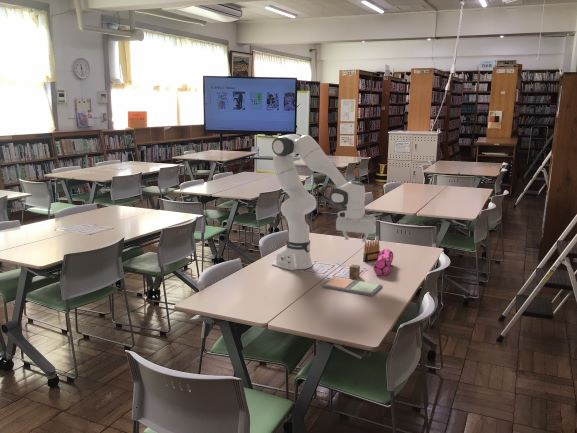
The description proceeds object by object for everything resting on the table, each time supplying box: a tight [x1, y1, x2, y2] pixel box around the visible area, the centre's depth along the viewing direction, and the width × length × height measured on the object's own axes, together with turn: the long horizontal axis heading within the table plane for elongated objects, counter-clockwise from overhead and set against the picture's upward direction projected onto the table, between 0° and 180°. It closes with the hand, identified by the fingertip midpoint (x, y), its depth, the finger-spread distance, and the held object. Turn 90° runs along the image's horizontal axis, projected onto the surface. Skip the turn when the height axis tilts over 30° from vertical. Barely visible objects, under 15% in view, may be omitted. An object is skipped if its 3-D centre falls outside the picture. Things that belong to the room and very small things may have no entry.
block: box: [348, 264, 361, 280], centre depth 247 cm, size 4×4×6 cm
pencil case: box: [373, 248, 394, 276], centre depth 258 cm, size 21×10×10 cm, turn 165°
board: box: [322, 276, 383, 297], centre depth 234 cm, size 25×14×1 cm, turn 61°
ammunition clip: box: [362, 238, 381, 263], centre depth 274 cm, size 11×2×12 cm, turn 119°
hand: (355, 240), depth 244 cm, fingers open, 8 cm apart
